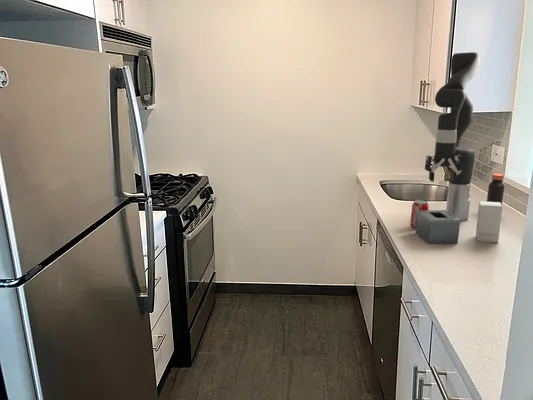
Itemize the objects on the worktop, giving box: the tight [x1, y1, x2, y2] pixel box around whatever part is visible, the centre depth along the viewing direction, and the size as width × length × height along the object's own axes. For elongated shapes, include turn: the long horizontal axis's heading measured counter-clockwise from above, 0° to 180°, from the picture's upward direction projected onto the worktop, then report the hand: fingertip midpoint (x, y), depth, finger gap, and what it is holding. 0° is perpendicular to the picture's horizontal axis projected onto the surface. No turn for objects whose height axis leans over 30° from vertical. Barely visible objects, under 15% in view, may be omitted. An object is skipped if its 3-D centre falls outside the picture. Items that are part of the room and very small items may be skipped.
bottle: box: [486, 173, 505, 206], centre depth 223 cm, size 7×7×20 cm
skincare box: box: [475, 200, 503, 243], centre depth 189 cm, size 8×7×16 cm
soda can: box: [410, 199, 430, 230], centre depth 204 cm, size 7×7×12 cm
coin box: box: [415, 209, 461, 245], centre depth 191 cm, size 12×14×10 cm
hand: (442, 180), depth 187 cm, fingers open, 8 cm apart
